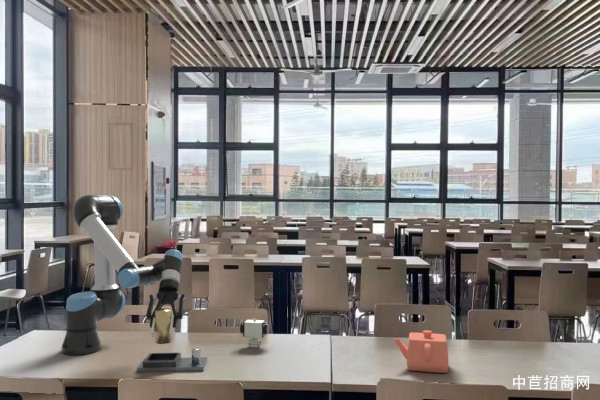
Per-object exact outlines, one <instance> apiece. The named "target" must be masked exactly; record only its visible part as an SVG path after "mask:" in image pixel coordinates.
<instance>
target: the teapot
mask: <svg viewBox="0 0 600 400" xmlns="http://www.w3.org/2000/svg"><path fill="white" fill-rule="evenodd" d="M408 335H409V336H408V341H407V345H406V344H405V343H404V342H403V341H402V340H401V339H400V337H397V338H393V341H394V343H395V344H396V346H397V347H398V348H399V351H400V352H401V353H402V356H403V357H404V359H405V360H406V367H407V370H408V371H413V372H424V373H441V374H443V373H444V374H447V373H448V370H449V348H448V342H447V335H446V334H443V333H433V331H432V330H428V329H427V330H422V332H412V331H411V332H409V334H408Z"/></svg>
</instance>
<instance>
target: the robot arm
mask: <svg viewBox="0 0 600 400" xmlns="http://www.w3.org/2000/svg"><path fill="white" fill-rule="evenodd" d="M123 215H124V206H123V204H122V202H121V201H120V200H119V198H117V197H116V196H114V195H110V194H109V195H108V194H104V195H103V194H100V195H99V194H97V195H96V194H94V195H93V194H87V195H83V196H80V197H79V198H78V199H76V201H75V202H74V204H73V207H72V217H73V220H74V221H75V223H76V225H77V226H78V228H79V229H80V230H82V231H85V232H86V234H87V235H88V236H89V238H90V239H91V240H92V241H93V254H94V255H93V260H94V285H93V286H92V287H91V290H90V291H82V292H77V293H74V294H71V295H69V296H68V297H67V299H66V305H65V311H66V312H65V316H66V317H65V318H66V320H65V323H66V326H65V327H66V329H65V330H66V332H65V333H66V334H65V336H64V338H63V342H62V345H61V353H62V354H63V355H69V356H79V355H81V356H82V355H88V354H93V353H96V352H98V351H100V350H101V349H102V348H101V346H102V344H101V342H102V341H101V340H100V336H99V334H98V330H97V322H99V321H102V320H105V319H106V320H107V319H112V318H114V317H116V316H118V315H119V314H121V312H123V310H124V308H125V304H126V298H125V297H126V296H125V295H124V293H123V292H122V291H121V290H120V286H121V287H122V288H124V289H132V288H133V289H134V288H136V287H139V286H147V287H149V286H151V285H155V284H157V283H158V282H159V286H158V292H157V293H156V294H154V295H153V294H149V302H148V306H147V311H146V313H145V316H146V319H147V321H149V328H150V329H151V331H150V335H151V337H152V338H155V310H157V309H162V308H163V307H164V305H170V307H171V309H172V315H173V316H172V318H171V324H170V331H169V333H170V336H172V337H173V335H174V334H173V333H174V328H177V325H178V320H183V318H184V302H185V300H186V297H185V294H184V293H183V294H179V288H180V282H181V272H182V266H183V263H184V262H183V253H182V252H181V251H180V250H177V249H168V250H166V251H165V253H164V256H163V258H162V259H161V260H158V261H157V262H155V263H152V264H148V265H142V266H138V265H137V263H136V262H135V261H134V259H133V258H132V257H131V255H129V254H128V252H127V250H126V249H125V248H124V247H123V246H122V244H121V243H120V241H119V240H117V238H116V237H115V229H116V228H117V227H118V225H119V223H118V221H119V220H120V219H121V218H122V216H123ZM116 272H117V274H118V275H117V280H118V284H119V285H118V284H117V282H116ZM156 300H158V301H157V304H156V305H155V302H156ZM176 300H178V301H179V302H178V303H179V304H178V305H179V306H178V314H177V311H176V307H175V302H176ZM154 305H155V308H154Z"/></svg>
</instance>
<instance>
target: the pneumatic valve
mask: <svg viewBox="0 0 600 400" xmlns="http://www.w3.org/2000/svg"><path fill="white" fill-rule="evenodd" d="M239 332H240V334H242V337H245V338H247V337H248V338H250V339H248V340H247V346H248V347H249V348H255V349H256V348H259V347H260V346H261V345H262V340H261V339H260V338H265V337H266V336H267V335H269V332H270V325H269V324H268V323H267V320H260V319H256V318H253V319H245V320H244V321H242V322H241V323H240V326H239Z"/></svg>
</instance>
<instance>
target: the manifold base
mask: <svg viewBox="0 0 600 400" xmlns="http://www.w3.org/2000/svg"><path fill="white" fill-rule="evenodd" d="M207 363H208V356H207V357H205V356H203V357H201V348H200V347H193V348H191V357H182V353H181V352H151V353H148V355H147V356H146V357H145V358H144V359H142V361H141V362H140V363H139V365H138V366H137V367H136V373H162V372H169V373H170V372H172V373H173V372H174V373H175V372H204V370H205V368H206V365H207Z"/></svg>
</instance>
